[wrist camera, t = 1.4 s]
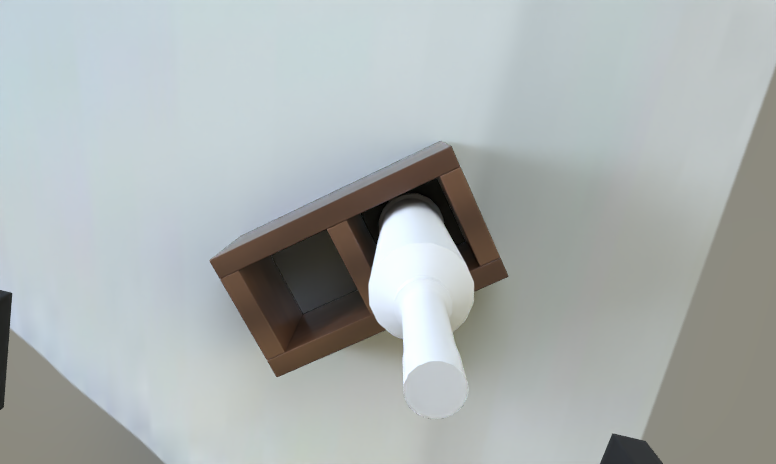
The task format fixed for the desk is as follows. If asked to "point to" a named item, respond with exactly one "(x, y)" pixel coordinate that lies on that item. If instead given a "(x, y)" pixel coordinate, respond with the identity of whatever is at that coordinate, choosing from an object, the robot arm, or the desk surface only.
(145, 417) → the desk surface
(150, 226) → the desk surface
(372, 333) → the caddy
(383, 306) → the bottle
